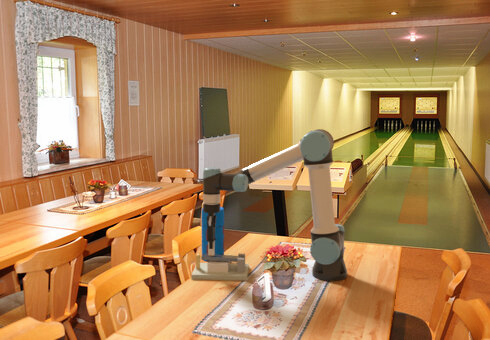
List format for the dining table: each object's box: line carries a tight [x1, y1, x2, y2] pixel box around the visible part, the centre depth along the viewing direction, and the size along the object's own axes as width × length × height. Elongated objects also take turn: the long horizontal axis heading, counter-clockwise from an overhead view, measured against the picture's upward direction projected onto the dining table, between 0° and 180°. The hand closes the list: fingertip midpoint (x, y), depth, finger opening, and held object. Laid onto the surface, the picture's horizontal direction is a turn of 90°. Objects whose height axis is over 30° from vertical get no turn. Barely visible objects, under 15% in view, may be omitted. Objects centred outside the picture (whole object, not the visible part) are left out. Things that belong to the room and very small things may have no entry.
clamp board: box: [190, 253, 250, 281], centre depth 216 cm, size 24×16×8 cm, turn 87°
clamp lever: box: [200, 253, 244, 263], centre depth 215 cm, size 18×4×2 cm, turn 87°
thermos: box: [201, 206, 225, 263], centre depth 235 cm, size 11×11×25 cm
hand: (211, 255), depth 215 cm, fingers closed
